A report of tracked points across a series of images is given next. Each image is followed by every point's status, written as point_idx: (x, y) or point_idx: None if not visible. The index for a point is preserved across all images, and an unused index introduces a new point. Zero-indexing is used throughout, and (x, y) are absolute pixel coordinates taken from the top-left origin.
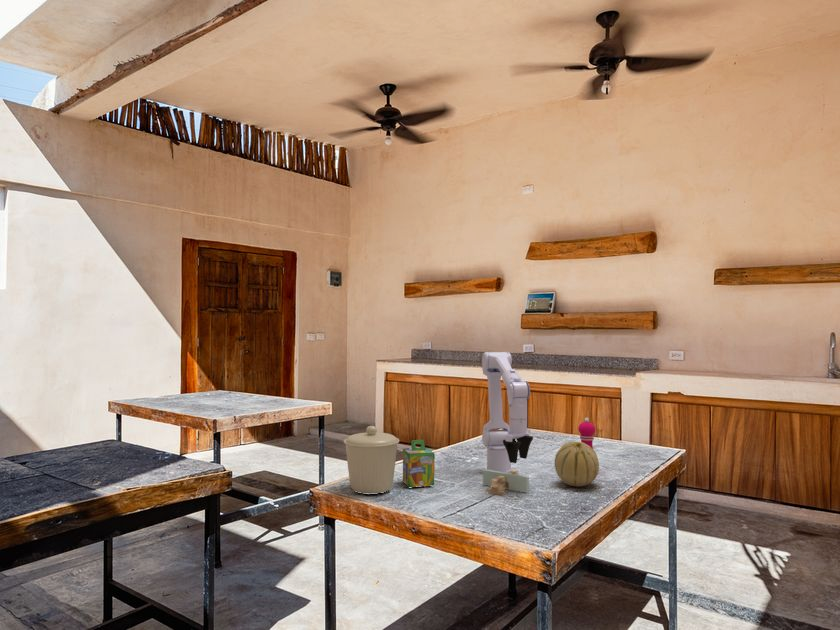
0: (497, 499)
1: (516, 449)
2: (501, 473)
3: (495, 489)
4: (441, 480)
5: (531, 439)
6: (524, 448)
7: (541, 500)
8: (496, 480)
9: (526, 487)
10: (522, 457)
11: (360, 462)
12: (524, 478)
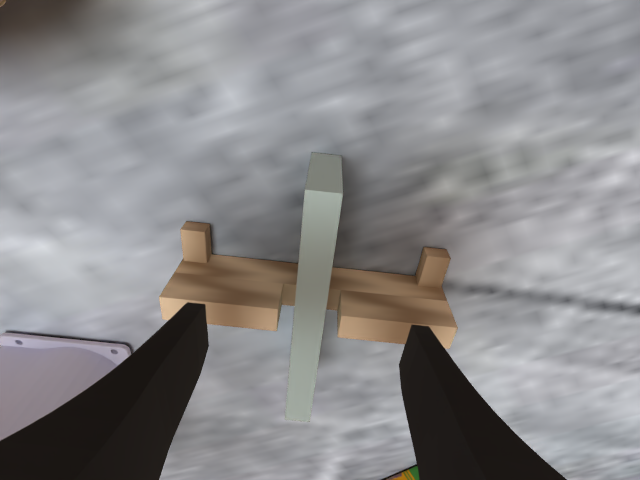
0: (518, 249)
1: (536, 453)
2: (320, 344)
3: (444, 296)
4: (333, 466)
5: (17, 475)
6: (161, 397)
7: (462, 13)
8: (450, 326)
9: (341, 168)
10: (205, 333)
11: None
12: (340, 205)
